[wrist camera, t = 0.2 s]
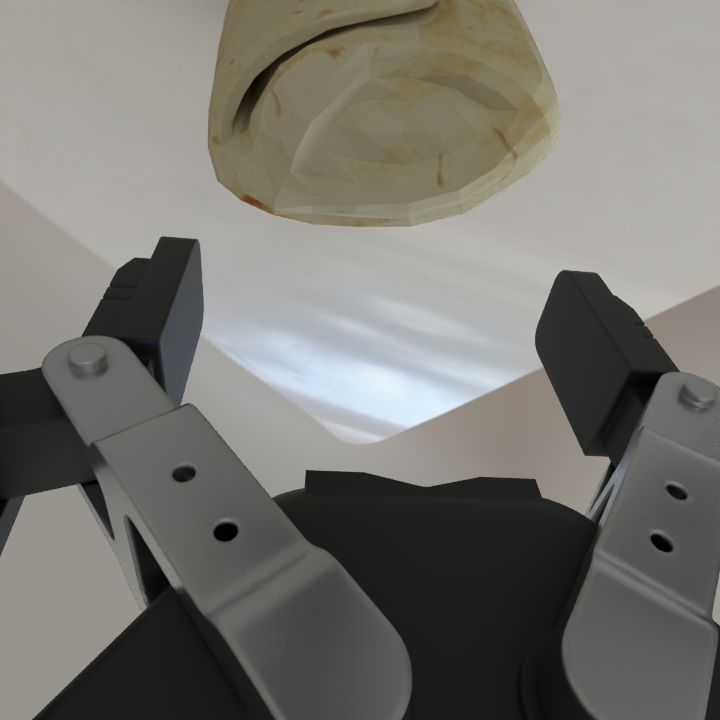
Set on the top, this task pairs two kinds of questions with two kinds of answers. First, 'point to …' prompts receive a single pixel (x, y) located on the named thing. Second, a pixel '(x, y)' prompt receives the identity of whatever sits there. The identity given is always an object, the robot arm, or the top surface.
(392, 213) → the food model
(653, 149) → the top surface
